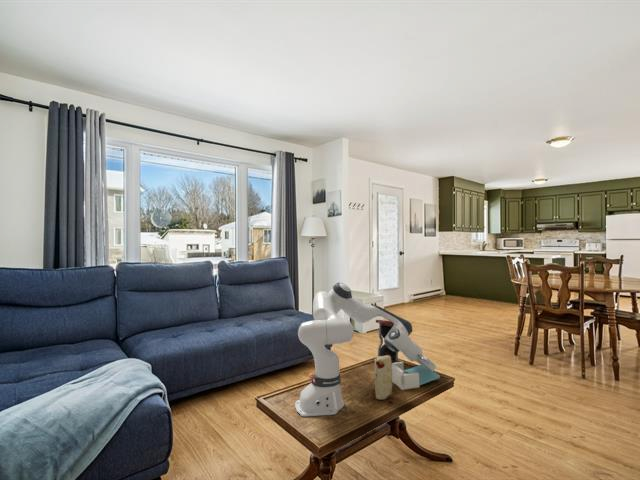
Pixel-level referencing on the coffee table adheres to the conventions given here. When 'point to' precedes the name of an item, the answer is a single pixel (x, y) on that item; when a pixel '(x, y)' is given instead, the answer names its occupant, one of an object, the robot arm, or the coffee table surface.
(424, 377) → the box lid
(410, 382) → the white open box
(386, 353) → the hourglass
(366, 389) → the coffee table surface
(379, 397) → the food model
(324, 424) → the coffee table surface
